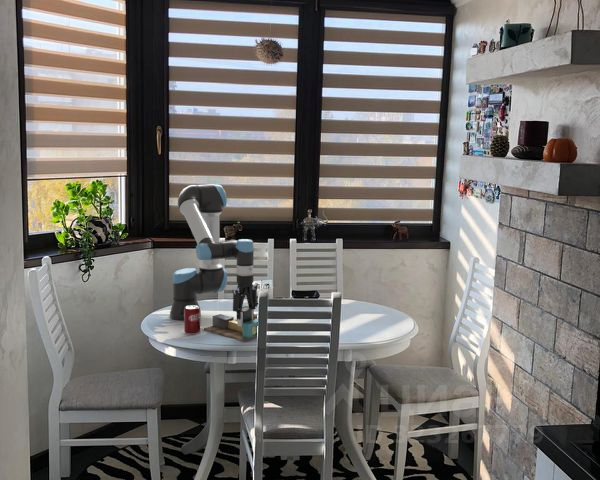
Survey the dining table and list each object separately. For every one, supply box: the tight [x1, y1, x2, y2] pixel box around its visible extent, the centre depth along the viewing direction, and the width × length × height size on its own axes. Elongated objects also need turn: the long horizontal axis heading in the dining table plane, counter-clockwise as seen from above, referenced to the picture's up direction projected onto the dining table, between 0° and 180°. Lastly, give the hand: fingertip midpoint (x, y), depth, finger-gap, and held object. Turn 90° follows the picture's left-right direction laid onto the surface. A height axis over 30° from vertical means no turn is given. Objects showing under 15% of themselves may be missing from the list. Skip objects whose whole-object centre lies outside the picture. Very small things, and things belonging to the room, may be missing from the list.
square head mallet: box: [226, 308, 257, 334], centre depth 339 cm, size 18×5×10 cm, turn 49°
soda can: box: [183, 305, 201, 335], centre depth 341 cm, size 7×7×12 cm
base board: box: [203, 325, 258, 343], centre depth 342 cm, size 27×14×1 cm, turn 49°
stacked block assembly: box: [211, 313, 258, 339], centre depth 341 cm, size 26×10×6 cm, turn 49°
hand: (245, 324), depth 337 cm, fingers open, 6 cm apart
